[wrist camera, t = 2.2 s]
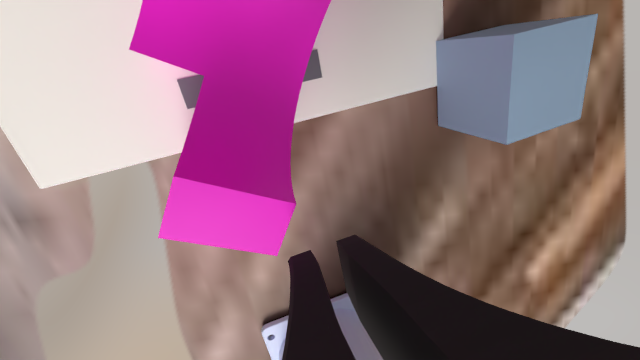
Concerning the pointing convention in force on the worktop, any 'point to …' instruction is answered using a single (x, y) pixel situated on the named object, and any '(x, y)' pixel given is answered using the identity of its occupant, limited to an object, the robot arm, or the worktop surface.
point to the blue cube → (514, 78)
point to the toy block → (234, 113)
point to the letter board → (176, 78)
